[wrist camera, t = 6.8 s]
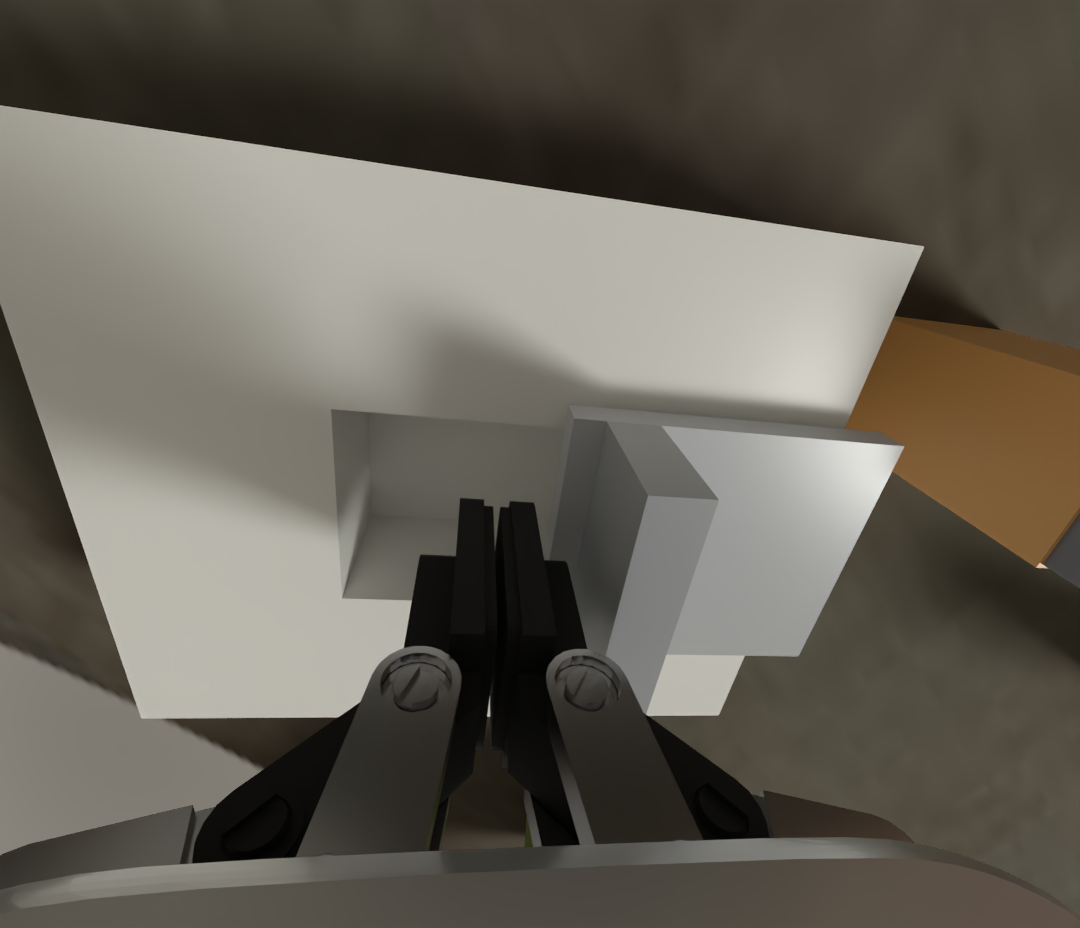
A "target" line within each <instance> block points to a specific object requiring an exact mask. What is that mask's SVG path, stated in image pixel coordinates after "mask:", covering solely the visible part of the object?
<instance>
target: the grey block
mask: <svg viewBox="0 0 1080 928" xmlns="http://www.w3.org/2000/svg"><path fill="white" fill-rule="evenodd" d="M903 448H904V446H903V445H901V444H900V443H898V442H896V441H895V440H893V439H891V438H890V437H888V436H886V435H885V434H883V433H881V432H873V431H862V430H851V429H839V428H828V427H817V426H806V425H794V424H783V423H772V422H761V421H749V420H738V419H727V418H715V417H704V416H693V415H682V414H670V413H659V412H648V411H637V410H625V409H614V408H603V407H592V406H580V405H569V404H568V410H567V416H566V422H565V428H564V434H563V440H562V446H561V452H560V458H559V464H558V470H557V476H556V482H555V488H554V494H553V500H552V506H551V512H550V518H549V524H548V530H547V536H546V542H545V548H544V554H543V556H544V560H556V561H566V562H567V565H568V568H569V572H570V576H571V581H572V585H573V589H574V593H575V598H576V602H577V606H578V611H579V615H580V619H581V624H582V628H583V632H584V637H585V641H586V645H587V649H588V650H592V651H596V652H599V653H601V654H603V655H605V656H607V657H609V658H611V659H612V660H613V661H614V662H615V663H616V664H617V665H618V666H620V668H621V669H622V671H623V672H624V674H625V675H626V677H627V679H628V681H629V683H630V685H631V687H632V689H633V691H634V694H635V696H636V698H637V700H638V702H639V704H640V706H641V708H642V711H643V713H645V714H646V713H647V710H648V707H649V704H650V701H651V699H652V696H653V693H654V690H655V687H656V684H657V681H658V678H659V675H660V672H661V669H662V666H663V663H664V660H665V657H666V655H737V656H799V654H800V652H801V650H802V648H803V646H804V644H805V642H806V640H807V638H808V636H809V634H810V632H811V630H812V628H813V626H814V624H815V622H816V620H817V618H818V616H819V614H820V612H821V610H822V609H823V607H824V605H825V603H826V601H827V599H828V597H829V595H830V593H831V591H832V589H833V587H834V585H835V583H836V581H837V579H838V577H839V575H840V573H841V571H842V569H843V567H844V565H845V563H846V561H847V559H848V557H849V555H850V553H851V551H852V549H853V547H854V545H855V543H856V541H857V539H858V537H859V535H860V533H861V531H862V529H863V528H864V526H865V524H866V522H867V520H868V518H869V516H870V514H871V512H872V510H873V508H874V506H875V504H876V502H877V500H878V498H879V496H880V494H881V492H882V490H883V488H884V486H885V484H886V482H887V480H888V478H889V476H890V474H891V472H892V470H893V468H894V466H895V464H896V462H897V460H898V458H899V456H900V454H901V452H902V450H903Z"/></svg>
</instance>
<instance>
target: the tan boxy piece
mask: <svg viewBox="0 0 1080 928" xmlns="http://www.w3.org/2000/svg"><path fill="white" fill-rule="evenodd" d="M845 429H851V430H862V431H873V432H881V433H883V434H885V435H886V436H888V437H890V438H891V439H893V440H895V441H896V442H898V443H900V444H901V445H903V446H904V448H903V450H902V452H901V454H900V456H899V458H898V460H897V462H896V464H895V466H894V468H893V470H892V472H894V473H895V474H897V475H898V476H900V477H901V478H903V479H904V480H906V481H907V482H909V483H910V484H912V485H913V486H915V487H916V488H918V489H919V490H921V491H922V492H924V493H925V494H927V495H928V496H930V497H931V498H933V499H934V500H936V501H937V502H939V503H940V504H942V505H943V506H945V507H946V508H948V509H949V510H951V511H952V512H954V513H955V514H957V515H958V516H960V517H961V518H963V519H964V520H966V521H967V522H969V523H970V524H972V525H973V526H974V527H976V528H977V529H979V530H980V531H982V532H983V533H985V534H986V535H988V536H989V537H991V538H992V539H994V540H995V541H997V542H998V543H1000V544H1001V545H1003V546H1004V547H1006V548H1007V549H1009V550H1010V551H1012V552H1013V553H1015V554H1016V555H1018V556H1019V557H1021V558H1022V559H1024V560H1025V561H1027V562H1028V563H1030V564H1031V565H1033V566H1034V567H1036V568H1049V569H1050V570H1052V571H1053V572H1055V573H1056V574H1058V575H1059V576H1061V577H1062V578H1064V579H1065V580H1067V581H1068V582H1070V583H1071V584H1073V585H1075V586H1076V587H1078V588H1079V589H1080V350H1078V349H1074V348H1070V347H1066V346H1062V345H1058V344H1054V343H1050V342H1047V341H1043V340H1039V339H1035V338H1031V337H1027V336H1023V335H1019V334H1016V333H1012V332H1008V331H1004V330H999V329H991V328H984V327H976V326H968V325H960V324H952V323H945V322H937V321H929V320H921V319H913V318H906V317H898V316H894V317H893V319H892V322H891V324H890V326H889V329H888V331H887V333H886V335H885V338H884V340H883V342H882V344H881V347H880V349H879V351H878V354H877V356H876V358H875V360H874V363H873V365H872V367H871V370H870V372H869V374H868V376H867V379H866V381H865V383H864V385H863V388H862V390H861V392H860V395H859V397H858V399H857V401H856V404H855V406H854V408H853V411H852V413H851V415H850V417H849V420H848V422H847V424H846V426H845Z"/></svg>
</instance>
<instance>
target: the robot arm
mask: <svg viewBox="0 0 1080 928" xmlns="http://www.w3.org/2000/svg"><path fill="white" fill-rule="evenodd" d="M489 698H490V734H491V750H501V761H502V769H508V773H509V774H510V775H511V776H513V777H514V778H515V779H516V780H517V781H518V782H519V783H520V784H521V785H522V786H523V797H524V805H525V810H526V814H527V819H528V824H529V828H530V833H531V838H532V843H533V847H519V848H495V849H471V850H448V851H441V847H442V842H443V837H444V831H445V826H446V821H447V816H448V811H449V806H450V798H451V794H452V793H453V792H454V791H455V790H456V789H457V788H458V787H459V786H460V785H461V784H462V783H463V782H464V781H465V780H466V779H467V778H468V777H469V776H470V775H471V774H472V771H473V763H474V755H475V750H482V749H483V743H484V735H485V728H486V720H487V713H488V705H489ZM0 928H1080V916H1079V915H1078V914H1077V913H1076V912H1074V911H1073V910H1072V909H1070V908H1069V907H1068V906H1066V905H1065V904H1063V903H1062V902H1060V901H1059V900H1057V899H1056V898H1055V897H1053V896H1052V895H1050V894H1048V893H1047V892H1045V891H1043V890H1041V889H1039V888H1038V887H1036V886H1034V885H1032V884H1030V883H1028V882H1026V881H1024V880H1022V879H1020V878H1018V877H1016V876H1014V875H1012V874H1010V873H1008V872H1006V871H1003V870H1001V869H999V868H996V867H993V866H991V865H988V864H985V863H983V862H980V861H977V860H975V859H972V858H969V857H967V856H964V855H961V854H958V853H954V852H951V851H947V850H944V849H940V848H935V847H931V846H927V845H922V844H918V843H915V842H914V841H913V840H912V839H911V838H910V837H909V836H908V835H907V834H906V833H905V832H904V831H902V830H901V829H899V828H898V827H896V826H895V825H894V824H892V823H891V822H889V821H888V820H885V819H883V818H880V817H878V816H875V815H872V814H868V813H864V812H859V811H855V810H850V809H846V808H841V807H837V806H832V805H828V804H823V803H819V802H814V801H810V800H805V799H801V798H796V797H792V796H787V795H783V794H778V793H774V792H769V791H765V790H762V792H761V794H760V795H759V796H757V795H752V794H750V792H749V791H748V790H747V789H746V788H745V787H744V786H742V785H741V784H740V783H739V782H738V781H737V780H736V779H734V778H733V777H731V776H730V775H729V774H727V773H726V772H725V771H723V770H722V769H720V768H719V767H718V766H716V765H715V764H714V763H712V762H711V761H709V760H708V759H707V758H705V757H704V756H703V755H701V754H700V753H698V752H697V751H696V750H694V749H693V748H691V747H690V746H689V745H687V744H686V743H685V742H683V741H682V740H680V739H679V738H678V737H676V736H675V735H674V734H672V733H671V732H669V731H668V730H667V729H665V728H664V727H662V726H661V725H660V724H658V723H657V722H656V721H654V720H653V719H651V718H650V717H649V716H647V715H646V714H645V713H643V711H642V708H641V706H640V704H639V702H638V700H637V698H636V696H635V694H634V691H633V689H632V687H631V685H630V683H629V681H628V679H627V677H626V675H625V674H624V672H623V671H622V669H621V668H620V666H618V665H617V664H616V663H615V662H614V661H613V660H612V659H611V658H609V657H607V656H605V655H603V654H601V653H599V652H596V651H592V650H588V649H587V645H586V641H585V637H584V632H583V628H582V624H581V619H580V615H579V611H578V606H577V602H576V598H575V593H574V589H573V585H572V581H571V576H570V572H569V568H568V565H567V562H566V561H556V560H544V556H543V550H542V544H541V538H540V533H539V527H538V521H537V515H536V509H535V504H534V503H533V502H518V501H510V503H509V507H500V512H499V520H498V528H497V537H496V545H495V541H494V513H493V506H484V499H469V498H460V505H459V519H458V532H457V546H456V556H444V555H422V554H420V557H419V562H418V568H417V574H416V580H415V585H414V591H413V597H412V603H411V609H410V614H409V620H408V626H407V632H406V637H405V643H404V648H403V649H400V650H398V651H396V652H394V653H392V654H390V655H388V656H387V657H386V658H385V659H384V660H382V661H381V662H380V663H379V664H378V666H377V667H376V669H375V670H374V672H373V674H372V676H371V678H370V680H369V683H368V685H367V688H366V690H365V692H364V695H363V697H362V700H361V702H360V703H358V704H357V705H355V706H354V707H352V708H351V709H350V710H348V711H347V712H345V713H344V714H342V715H341V716H340V717H338V718H337V719H335V720H334V721H332V722H331V723H330V724H328V725H327V726H325V727H324V728H322V729H321V730H320V731H318V732H317V733H315V734H314V735H312V736H311V737H310V738H308V739H307V740H305V741H304V742H302V743H301V744H300V745H298V746H297V747H295V748H294V749H292V750H291V751H290V752H288V753H287V754H285V755H284V756H282V757H281V758H280V759H278V760H277V761H275V762H274V763H272V764H271V765H270V766H268V767H267V768H265V769H264V770H262V771H261V772H260V773H258V774H257V775H255V776H254V777H253V778H251V779H250V780H248V781H247V782H245V783H244V784H242V785H241V786H240V787H238V788H237V789H235V790H234V791H233V792H231V793H230V794H229V795H228V796H227V797H226V798H225V799H223V800H222V801H221V802H220V803H219V804H217V805H216V807H213V808H209V809H205V810H200V811H197V812H195V811H194V808H193V805H190V806H186V807H182V808H178V809H173V810H169V811H165V812H161V813H157V814H152V815H148V816H144V817H140V818H136V819H132V820H127V821H123V822H119V823H115V824H111V825H107V826H102V827H98V828H95V829H90V830H86V831H82V832H77V833H74V834H69V835H65V836H61V837H57V838H52V839H48V840H44V841H40V842H36V843H31V844H28V845H25V846H23V847H20V848H17V849H14V850H12V851H9V852H7V853H4V854H2V855H0Z"/></svg>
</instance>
